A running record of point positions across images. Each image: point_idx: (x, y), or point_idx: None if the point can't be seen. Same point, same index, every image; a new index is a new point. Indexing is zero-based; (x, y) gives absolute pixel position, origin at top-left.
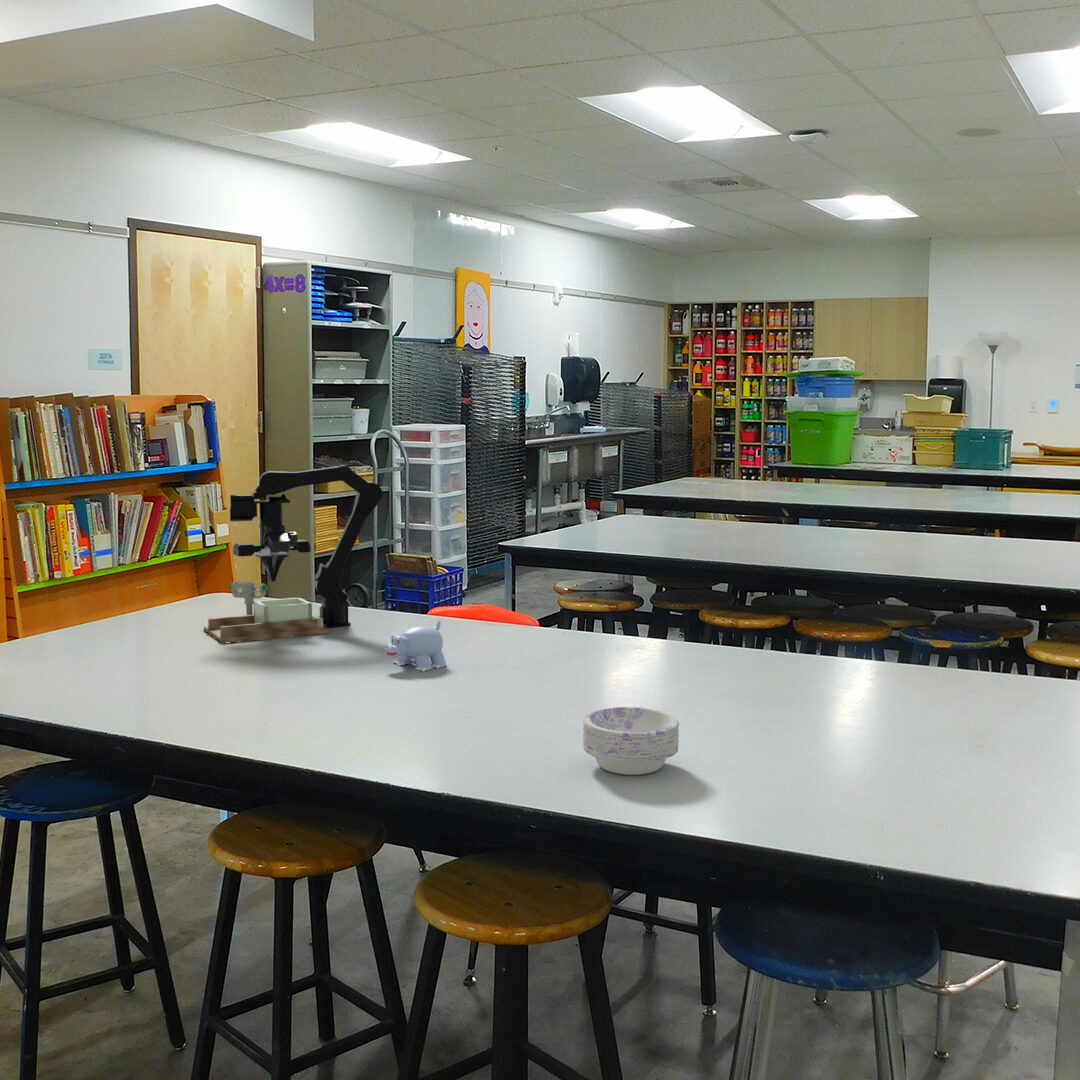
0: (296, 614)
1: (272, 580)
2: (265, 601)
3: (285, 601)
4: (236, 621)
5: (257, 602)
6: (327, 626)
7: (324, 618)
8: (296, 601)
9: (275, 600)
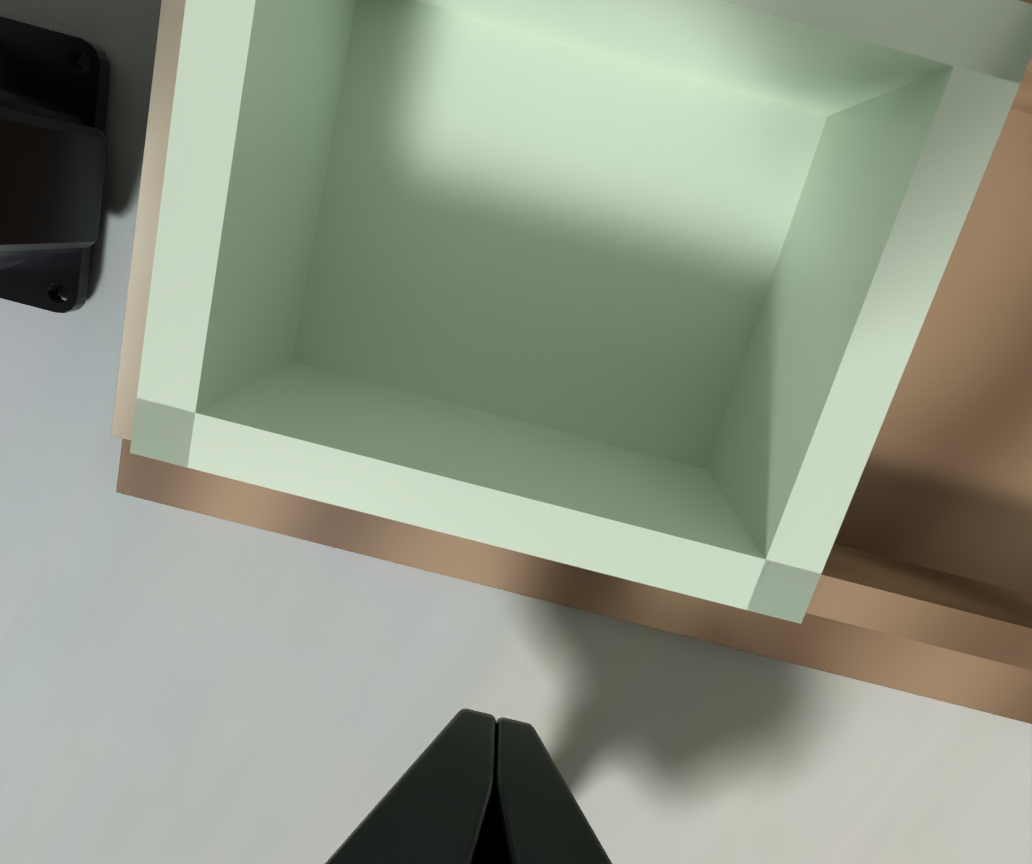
0: None
1: (523, 731)
2: (665, 528)
3: (378, 446)
4: (897, 578)
5: (839, 486)
6: (104, 53)
7: (56, 121)
8: (222, 403)
9: (519, 493)
